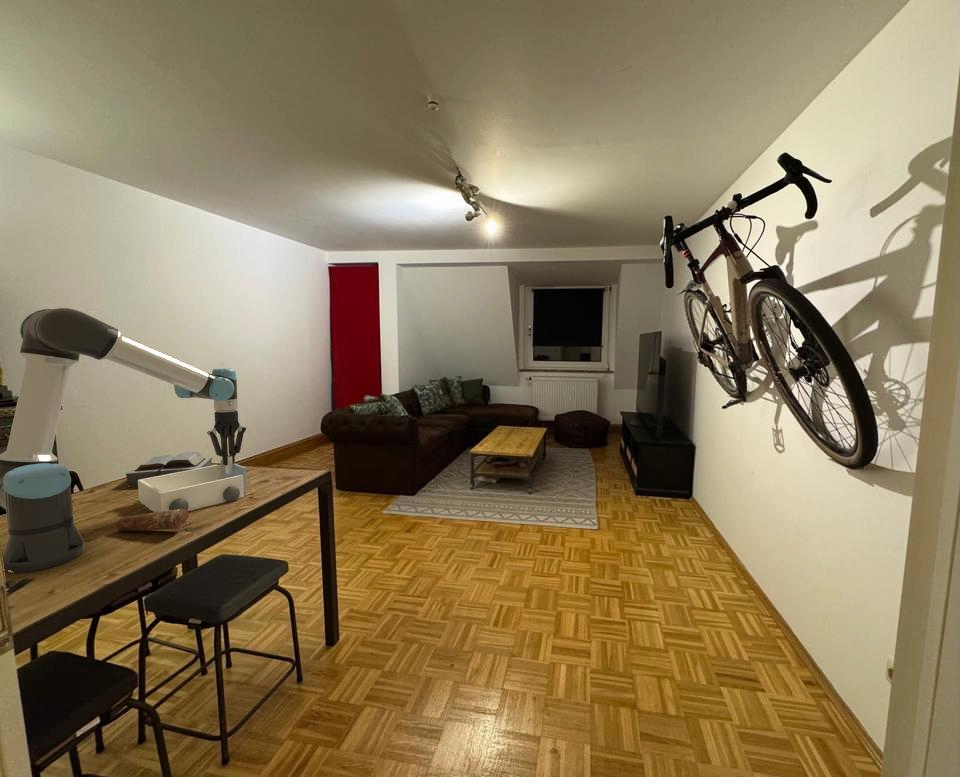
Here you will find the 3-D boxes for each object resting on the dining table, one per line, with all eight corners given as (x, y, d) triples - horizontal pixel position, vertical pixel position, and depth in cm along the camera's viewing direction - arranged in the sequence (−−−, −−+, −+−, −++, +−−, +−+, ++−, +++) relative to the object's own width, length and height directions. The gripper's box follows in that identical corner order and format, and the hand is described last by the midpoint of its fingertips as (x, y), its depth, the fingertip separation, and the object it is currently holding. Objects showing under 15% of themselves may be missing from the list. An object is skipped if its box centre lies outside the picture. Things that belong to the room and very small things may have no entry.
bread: (180, 533, 126) (175, 516, 124) (114, 535, 126) (108, 518, 125) (193, 520, 132) (189, 504, 130) (130, 522, 132) (125, 506, 130)
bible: (193, 488, 168) (191, 463, 167) (115, 490, 164) (114, 464, 164) (221, 471, 191) (220, 448, 190) (154, 472, 188) (152, 450, 187)
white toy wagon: (163, 519, 137) (162, 494, 136) (137, 501, 152) (136, 479, 152) (246, 497, 157) (245, 476, 156) (216, 484, 172) (214, 464, 171)
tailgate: (243, 494, 159) (244, 468, 158) (219, 483, 171) (220, 459, 170) (246, 494, 159) (247, 468, 159) (222, 483, 171) (223, 459, 171)
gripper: (211, 413, 154) (214, 479, 156) (249, 409, 164) (251, 471, 167) (202, 411, 159) (205, 475, 161) (239, 407, 169) (242, 467, 171)
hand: (229, 473), depth 164 cm, fingers closed
